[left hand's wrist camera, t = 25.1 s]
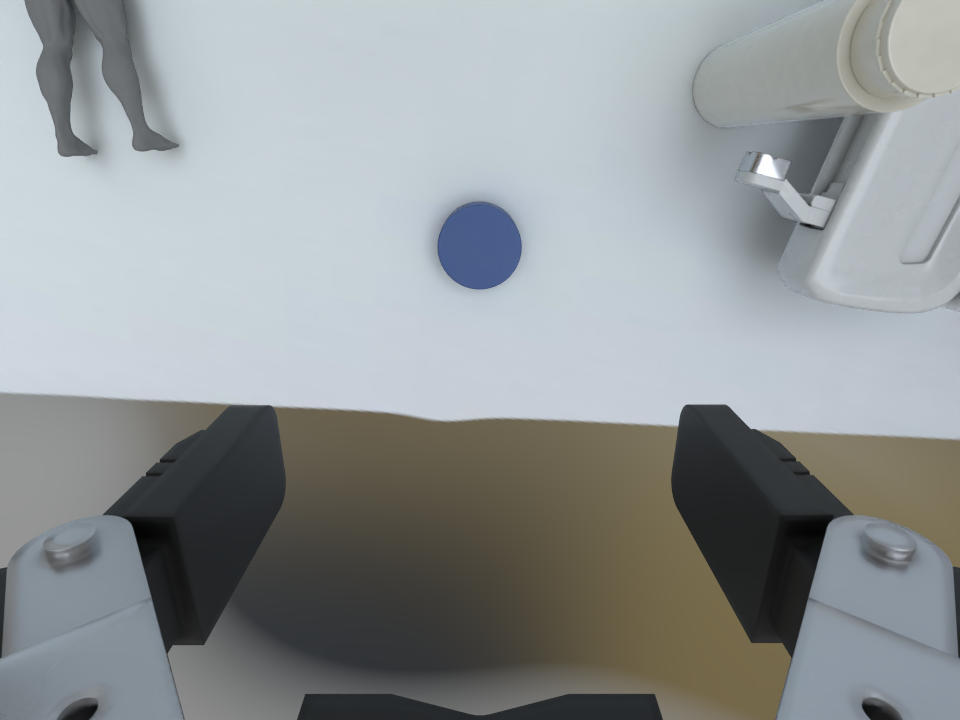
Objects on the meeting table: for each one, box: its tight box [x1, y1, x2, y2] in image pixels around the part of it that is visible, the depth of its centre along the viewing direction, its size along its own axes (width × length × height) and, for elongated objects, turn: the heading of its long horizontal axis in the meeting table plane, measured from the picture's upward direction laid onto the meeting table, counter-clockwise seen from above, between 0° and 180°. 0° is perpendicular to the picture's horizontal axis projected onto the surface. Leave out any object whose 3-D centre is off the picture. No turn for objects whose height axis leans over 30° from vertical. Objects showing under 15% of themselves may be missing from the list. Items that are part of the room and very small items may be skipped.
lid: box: [438, 202, 521, 289], centre depth 35 cm, size 5×5×2 cm
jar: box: [693, 0, 960, 128], centre depth 25 cm, size 5×5×16 cm
